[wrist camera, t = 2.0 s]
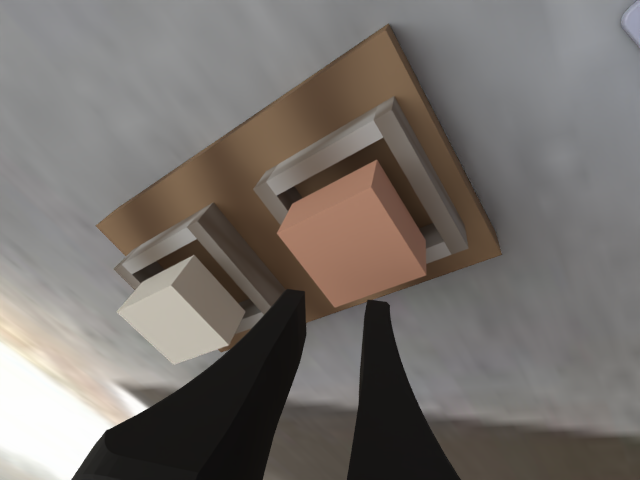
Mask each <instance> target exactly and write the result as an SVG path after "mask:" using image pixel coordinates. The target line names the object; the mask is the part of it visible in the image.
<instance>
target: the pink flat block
mask: <svg viewBox="0 0 640 480" xmlns="http://www.w3.org/2000/svg"><path fill="white" fill-rule="evenodd" d="M277 234H278V236H279V237H280V238H281V239H282V241H283V242H284V243H285V245H286V246H287V247H288V248H289V250H290V251H291V252H292V254H293V255H294V256H295V257H296V259H297V260H298V261H299V263H300V264H301V265H302V266H303V268H304V269H305V270H306V272H307V273H308V274H309V275H310V277H311V278H312V279H313V281H314V282H315V283H316V284H317V286H318V287H319V288H320V290H321V291H322V292H323V293H324V295H325V296H326V297H327V298H328V300H329V301H330V302H331V304H332V305H333V306H334V307H338V306H341V305H344V304H347V303H349V302H352V301H355V300H358V299H361V298H363V297H366V296H369V295H372V294H375V293H378V292H380V291H383V290H386V289H389V288H392V287H394V286H397V285H400V284H403V283H406V282H409V281H411V280H414V279H417V278H420V277H423V276H425V275H426V240H425V238H424V237H423V235H422V233H421V232H420V230H419V228H418V227H417V225H416V223H415V222H414V220H413V218H412V217H411V215H410V213H409V212H408V210H407V208H406V207H405V205H404V203H403V202H402V200H401V198H400V197H399V195H398V193H397V192H396V190H395V188H394V187H393V185H392V183H391V182H390V180H389V178H388V177H387V175H386V173H385V172H384V170H383V169H382V167H381V165H380V164H379V162H378V160H375V161H373V162H371V163H369V164H367V165H366V166H364V167H362V168H360V169H358V170H356V171H354V172H352V173H350V174H348V175H346V176H344V177H343V178H341V179H339V180H337V181H335V182H333V183H331V184H329V185H327V186H325V187H323V188H321V189H319V190H318V191H316V192H314V193H312V194H310V195H308V196H306V197H304V198H302V199H300V200H298V201H296V202H295V203H293V204H292V205H291V207H290V209H289V211H288V213H287V215H286V217H285V219H284V220H283V222H282V224H281V226H280V228H279V230H278V232H277Z"/></svg>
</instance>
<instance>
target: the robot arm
mask: <svg viewBox="0 0 640 480" xmlns="http://www.w3.org/2000/svg"><path fill="white" fill-rule="evenodd" d="M621 25H622V27H623V29H624V30H625V32H626V33H627V34H628V35H629V36H630V37H631V39H632V40H633V41H634V42H635V43H636V44H637V45H638V47H639V48H640V0H637V1H636V2H635V3H634V4H633V5H631V6H630V7H629V8H628V9H627V10H626V11H625V13H624V14H623V17H622V19H621ZM305 338H306V308H305V291H299V290H292V289H286V290H285V291H284V292H283V293H282V294H281V296H280V297H279V298H278V299H277V301H276V302H275V303H274V304H273V305H272V306H271V308H270V309H269V310H268V311H267V312H266V313H265V314H264V316H263V317H262V318H261V319H260V320H259V321H258V322H257V323H256V324H255V325H254V326H253V327H252V328H251V330H250V331H249V332H248V333H247V334H246V335H245V336H244V337H243V338H241V339H240V340H239V341H238V342H237V343H236V344H235V345H234V346H233V347H232V348H231V349H230V350H229V351H228V352H227V353H225V354H224V355H223V356H222V357H221V358H220V359H218V360H217V361H216V362H215V363H214V364H212V365H211V366H210V367H209V368H207V369H206V370H205V371H204V372H202V373H201V374H200V375H198V376H197V377H196V378H194V379H193V380H191V381H190V382H189V383H187V384H186V385H185V386H183V387H182V388H180V389H179V390H177V391H176V392H174V393H173V394H171V395H169V396H168V397H166V398H164V399H163V400H161V401H160V402H158V403H156V404H155V405H153V406H152V407H150V408H148V409H147V410H145V411H143V412H141V413H139V414H138V415H136V416H134V417H132V418H130V419H128V420H126V421H124V422H122V423H120V424H118V425H117V426H115V427H113V428H111V429H108V430H106V431H105V433H104V434H103V435H102V437H101V438H100V439H99V440H98V442H97V443H96V444H95V445H94V447H93V448H92V450H91V451H90V453H89V454H88V456H87V457H86V459H85V460H84V462H83V463H82V465H81V466H80V468H79V469H78V471H77V472H76V474H75V475H74V477H73V478H72V480H263V476H264V472H265V468H266V464H267V460H268V456H269V452H270V448H271V445H272V441H273V437H274V434H275V430H276V427H277V424H278V421H279V419H280V416H281V413H282V410H283V408H284V405H285V402H286V399H287V397H288V394H289V391H290V388H291V386H292V383H293V380H294V377H295V375H296V372H297V369H298V366H299V363H300V360H301V355H302V351H303V347H304V343H305ZM347 480H461V479H460V478H459V476H458V475H457V473H456V471H455V470H454V468H453V467H452V465H451V463H450V462H449V460H448V459H447V457H446V455H445V454H444V452H443V450H442V448H441V447H440V445H439V443H438V441H437V439H436V438H435V436H434V434H433V432H432V431H431V429H430V427H429V425H428V423H427V421H426V419H425V417H424V415H423V413H422V411H421V409H420V407H419V405H418V402H417V400H416V398H415V396H414V393H413V391H412V389H411V386H410V384H409V381H408V379H407V376H406V373H405V371H404V368H403V365H402V362H401V359H400V356H399V352H398V349H397V345H396V342H395V338H394V334H393V329H392V324H391V318H390V305H389V304H388V303H387V302H382V301H375V300H367V305H366V310H365V316H364V329H363V341H362V354H361V366H360V384H359V406H358V412H357V419H356V426H355V432H354V439H353V445H352V451H351V458H350V464H349V470H348V476H347Z"/></svg>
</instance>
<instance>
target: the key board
mask: <svg viewBox="0 0 640 480" xmlns="http://www.w3.org/2000/svg"><path fill="white" fill-rule="evenodd" d="M375 160H378V162H379V164H380V165H381V167H382V169H383V170H384V172H385V173H386V175H387V177H388V178H389V180H390V182H391V183H392V185H393V187H394V188H395V190H396V192H397V193H398V195H399V197H400V198H401V200H402V202H403V203H404V205H405V207H406V208H407V210H408V212H409V213H410V215H411V217H412V218H413V220H414V222H415V223H416V225H417V227H418V228H419V230H420V232H421V233H422V235H423V237H424V238H425V240H426V275H425V276H423V277H420V278H417V279H414V280H411V281H409V282H406V283H403V284H400V285H397V286H394V287H392V288H389V289H386V290H383V291H380V292H378V293H375V294H372V295H369V296H366V297H363V298H361V299H358V300H355V301H352V302H349V303H347V304H344V305H341V306H338V307H334V306H333V305H332V304H331V302H330V301H329V300H328V298H327V297H326V296H325V295H324V293H323V292H322V291H321V290H320V288H319V287H318V286H317V284H316V283H315V282H314V281H313V279H312V278H311V277H310V275H309V274H308V273H307V272H306V270H305V269H304V268H303V266H302V265H301V264H300V263H299V261H298V260H297V259H296V257H295V256H294V255H293V254H292V252H291V251H290V250H289V248H288V247H287V246H286V245H285V243H284V242H283V241H282V239H281V238H280V237H279V236H278V234H277V232H278V230H279V228H280V226H281V224H282V222H283V220H284V219H285V217H286V215H287V213H288V211H289V209H290V207H291V205H292V204H293V203H295V202H296V201H298V200H300V199H302V198H304V197H306V196H308V195H310V194H312V193H314V192H316V191H318V190H319V189H321V188H323V187H325V186H327V185H329V184H331V183H333V182H335V181H337V180H339V179H341V178H343V177H344V176H346V175H348V174H350V173H352V172H354V171H356V170H358V169H360V168H362V167H364V166H366V165H367V164H369V163H371V162H373V161H375ZM96 227H97V228H98V229H99V230H100V231H101V232H102V233H103V234H104V235H105V236H106V237H107V238H108V239H109V240H110V241H111V242H112V243H113V244H114V245H115V246H116V247H117V248H118V249H119V250H120V251H121V252H122V253H123V254H124V255H125V256H126V257H125V258H124V259H123V260H122V261H121V262H120V263H119V264H118V265H117V266H116V267H115V268H114V270H115V271H116V272H117V273H118V274H119V275H120V276H121V277H122V278H123V279H124V280H125V281H126V282H127V283H128V284H129V285H130V286H131V287H132V288H133V289H134V290H136V289H137V288H138V286H139V285H140V284H141V283H142V282H143V281H145V280H147V279H149V278H151V277H152V276H154V275H156V274H158V273H160V272H162V271H164V270H166V269H168V268H170V267H172V266H174V265H176V264H177V263H179V262H181V261H183V260H185V259H187V258H189V257H191V256H193V255H195V256H196V257H197V258H198V259H199V261H200V262H201V263H202V264H203V265H204V266H205V267H206V268H207V269H208V271H209V272H210V273H211V274H212V275H213V276H214V277H215V278H216V279H217V281H218V282H219V283H220V284H221V285H222V286H223V287H224V288H225V289H226V290H227V292H228V293H229V294H230V295H231V296H232V297H233V298H234V299H235V300H236V302H237V303H238V304H239V305H240V306H241V307H242V308H243V309H244V310H245V314H244V316H243V318H242V320H241V322H240V324H239V326H238V328H237V330H236V332H235V334H234V336H233V338H232V340H231V342H230V344H229V345H228V346H225V347H222V348H220V349H218V350H219V351H220V352H223V351H226V350H229V349H231V348H232V347H233V346H234V345H235V344H236V343H237V342H238V341H239V340H240V339H241V338H243V337H244V336H245V335H246V334H247V333H248V332H249V331H250V330H251V328H252V327H253V326H254V325H255V324H256V323H257V322H258V321H259V320H260V319H261V318H262V317H263V316H264V314H265V313H266V312H267V311H268V310H269V309H270V308H271V306H272V305H273V304H274V303H275V302H276V301H277V299H278V298H279V297H280V296H281V294H282V293H283V292H284V291H285V290H286V289H292V290H299V291H305V308H306V323H307V322H310V321H313V320H315V319H318V318H321V317H324V316H327V315H330V314H333V313H336V312H339V311H341V310H344V309H347V308H350V307H353V306H356V305H359V304H362V303H364V302H367V300H373V299H376V298H379V297H382V296H385V295H387V294H390V293H393V292H396V291H399V290H402V289H405V288H408V287H410V286H413V285H416V284H419V283H422V282H425V281H428V280H431V279H433V278H436V277H439V276H442V275H445V274H448V273H451V272H454V271H456V270H459V269H462V268H465V267H468V266H471V265H474V264H477V263H479V262H482V261H485V260H488V259H491V258H494V257H497V256H500V255H502V253H501V249H500V246H499V242H498V239H497V235H496V232H495V230H494V228H493V226H492V224H491V222H490V220H489V219H488V217H487V215H486V213H485V211H484V209H483V207H482V205H481V203H480V201H479V199H478V197H477V195H476V193H475V191H474V189H473V187H472V185H471V183H470V181H469V179H468V177H467V176H466V174H465V172H464V170H463V168H462V166H461V164H460V162H459V160H458V158H457V156H456V154H455V152H454V150H453V148H452V146H451V144H450V142H449V140H448V138H447V136H446V134H445V133H444V131H443V129H442V127H441V125H440V123H439V121H438V119H437V117H436V115H435V113H434V111H433V109H432V107H431V105H430V103H429V101H428V99H427V97H426V95H425V93H424V91H423V89H422V88H421V86H420V84H419V82H418V80H417V78H416V76H415V74H414V72H413V70H412V68H411V66H410V64H409V62H408V60H407V58H406V56H405V54H404V52H403V50H402V48H401V46H400V45H399V43H398V41H397V39H396V37H395V35H394V33H393V31H392V29H391V27H390V25H389V24H387V25H386V26H384V27H383V28H381V29H380V30H378V31H377V32H375V33H374V34H372V35H371V36H369V37H368V38H367V39H365V40H364V41H362V42H361V43H359V44H358V45H356V46H355V47H353V48H352V49H350V50H349V51H347V52H346V53H345V54H343V55H342V56H340V57H339V58H337V59H336V60H334V61H333V62H331V63H330V64H328V65H327V66H325V67H324V68H323V69H321V70H320V71H318V72H317V73H315V74H314V75H312V76H311V77H309V78H308V79H306V80H305V81H303V82H302V83H300V84H299V85H298V86H296V87H295V88H293V89H292V90H290V91H289V92H287V93H286V94H284V95H283V96H281V97H280V98H278V99H277V100H276V101H274V102H273V103H271V104H270V105H268V106H267V107H265V108H264V109H262V110H261V111H259V112H258V113H256V114H255V115H254V116H252V117H251V118H249V119H248V120H246V121H245V122H243V123H242V124H240V125H239V126H237V127H236V128H234V129H233V130H232V131H230V132H229V133H227V134H226V135H224V136H223V137H221V138H220V139H218V140H217V141H215V142H214V143H212V144H211V145H210V146H208V147H207V148H205V149H204V150H202V151H201V152H199V153H198V154H196V155H195V156H193V157H192V158H190V159H189V160H187V161H186V162H185V163H183V164H182V165H180V166H179V167H177V168H176V169H174V170H173V171H171V172H170V173H168V174H167V175H165V176H164V177H163V178H161V179H160V180H158V181H157V182H155V183H154V184H152V185H151V186H149V187H148V188H146V189H145V190H143V191H142V192H141V193H139V194H138V195H136V196H135V197H133V198H132V199H130V200H129V201H127V202H126V203H124V204H123V205H121V206H120V207H119V208H117V209H116V210H114V211H113V212H112V213H111V214H109V215H108V216H107V217H106V218H105V219H103V220H102V221H101V222H100V223H98V224H97V225H96Z"/></svg>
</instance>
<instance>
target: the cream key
mask: <svg viewBox="0 0 640 480" xmlns="http://www.w3.org/2000/svg"><path fill="white" fill-rule="evenodd" d="M117 313H118V314H119V315H120V316H122V317H123V318H124V319H125V320H126V321H127V322H128V323H129V324H130V325H131V326H132V327H133V328H134V329H136V330H137V331H138V332H139V333H140V334H141V335H142V336H143V337H144V338H145V339H146V340H147V341H148V342H150V343H151V344H152V345H153V346H154V347H155V348H156V349H157V350H158V351H159V352H160V353H161V354H162V355H164V356H165V357H166V358H167V359H168V360H169V361H170V362H171V363H172V364H173V365H174V364H177V363H180V362H183V361H186V360H189V359H191V358H194V357H197V356H200V355H203V354H205V353H208V352H211V351H214V350H217V349H220V348H222V347H225V346H228V345H229V344H230V342H231V340H232V338H233V336H234V334H235V332H236V330H237V328H238V326H239V324H240V322H241V320H242V318H243V316H244V314H245V310H244V309H243V308H242V307H241V306H240V305H239V304H238V303H237V302H236V300H235V299H234V298H233V297H232V296H231V295H230V294H229V293H228V292H227V290H226V289H225V288H224V287H223V286H222V285H221V284H220V283H219V282H218V281H217V279H216V278H215V277H214V276H213V275H212V274H211V273H210V272H209V271H208V269H207V268H206V267H205V266H204V265H203V264H202V263H201V262H200V261H199V259H198V258H197V257H196V256H195V255H193V256H191V257H189V258H187V259H185V260H183V261H181V262H179V263H177V264H176V265H174V266H172V267H170V268H168V269H166V270H164V271H162V272H160V273H158V274H156V275H154V276H152V277H151V278H149V279H147V280H145V281H143V282H142V283H141V284H140V285H139V286H138V288H137V289H136V290H135V291H134V292H133V293H132V294H131V296H130V297H129V298H128V299H127V300H126V301H125V303H124V304H123V305H122V306H121V307H120V308H119V310H118V311H117Z"/></svg>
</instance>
